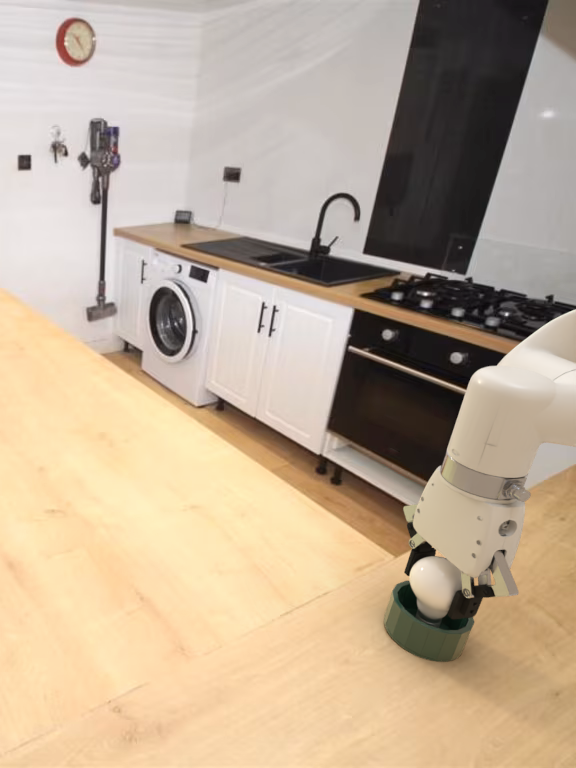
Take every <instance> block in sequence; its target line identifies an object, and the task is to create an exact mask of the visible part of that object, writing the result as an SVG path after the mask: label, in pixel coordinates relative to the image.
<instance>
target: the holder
mask: <svg viewBox="0 0 576 768" xmlns="http://www.w3.org/2000/svg"><path fill="white" fill-rule="evenodd" d="M417 610H418V606H417V597H416V596H415V594H414V592H413V590H412V588H411V585H410V581H409V580H404V581H401V582H398V583H396V585H394V587H393V589H392V592H391V594H390V596H389V599H388V603H387V606H386V609H385V612H384V617H383V625H384V628H385V630H386V632H387V634H388V635H389V636H390V638H391V639H392V640H393V641H394V642H395V643H396V644H397V645H398V646H400V647H401V648H402V649H404V650H405V651H406V652H408V653H410V654H411V655H414V656H415V657H418V658H421V659H423V660H427V661H431V662H439V663H446V662H452V661H455V660H457V659H458V658H460V657H461V656H462V654H463V651H464V649H465V646H466V644H467V641H468V639H469V637H470V634H471V633H472V630H473V627H474V625H475V619H474V617H471V618H460V619H451V618H450V617H449V616H448V613H447V615H446V616H445V617H443V618H442V620H441V624H440V627H439V628H436V627H433V626H430V625H428V624H426V623H424V622H422V621H420V620H418V619H416V618H415V617H416V614H417Z"/></svg>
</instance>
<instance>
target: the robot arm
mask: <svg viewBox="0 0 576 768" xmlns="http://www.w3.org/2000/svg"><path fill="white" fill-rule="evenodd" d="M469 379H470V380H469V381H468V384H467V387H466V389H465V393H464V396H463V400H462V401H461V404H460V408H459V411H458V415H457V416H456V417H457V418H456V420H455V424H454V426H453V430H452V432H451V435H450V438H449V441H448V445H447V448H446V450H445V453H444V457H443V460H442V463H441V465H439V466H437V467H436V469H435V470H434V472H433V473H432V475H431V476H430V478H429V479H428V481H427V483H426V485H425V487H424V489H423V491H422V493H421V496H420V498H419V500H418V502H417V503H414V504H408V505H404V506H403V508H402V509H403V510H402V511H403V514H404V517H405V520H406V522H407V523H406V528H407V531H408V534H409V537H410V538H409V540H408V545H409V547H410V548H411V550H410V553H409V556H408V559H407V563H406V565H405V568H404V571H403V572H404V574H405V575H406V576H407V577H409V575H410V571H411V568H412V567H413V565H414V564H415V563H416V562H417V561H419V560H420V559H422V558H425V557H429V556H436V554H437V552H438V553H439V554H441V555H442V557H444V558H446V559H448V560H449V561H450V562H451V563H452V564H454V565H455V566H456V567H457V568H458V569H460V570H461V582H462V590H458V591H456V592H455V595H454V598H453V600H452V603H451V605H450V608H449V611H448V616H449V617H450V618H451V619H460V618H471V617H473V618H474V617H475V616H476V615H477V613H478V611H479V609H480V606H481V604H482V602H483V599H490V598H507V597H514V596H518V595H519V594H520V592H519V589H518V586H517V583H516V582H515V579H514V577H513V574H512V571H511V570H510V569H511V568H512V566H513V563H514V561H515V558H516V554H517V553H518V548H519V545H520V542H521V537H522V534H523V528H524V522H525V514H526V502H527V501H528V500H529V499H531V495H532V493H531V492H530V491H528V490H526V487H524V486H525V484H526V481H527V480H528V479H527V478H528V476H529V474H530V471H531V468H532V466H533V463H534V461H535V459H536V456H537V454H538V451H539V450H540V447H541V445H542V444H547V443H548V444H555V445H561V446H567V447H574V448H576V309H573V310H571V311H568V312H565V313H563V314H561V315H559V316H558V317H556V318H553V319H552V320H550V321H549V322H547V323H545V324H544V325H543V326H541V327H540V328H538V329H537V330H535V331H534V332H533V333H532V334H530V335H529V336H528V337H526V338H525V339H523V340H522V341H521V342H520V343H518V344H517V345H515V347H513V348H512V349H511V350H510V351H508V353H507V354H505V355H504V356H503V358H502V359H501V360H500V361H499V362H498V363H497V365H489V366H488V365H487V366H484V367H481V368H479V369H477V370H476V371H475V372H474V373H473V374H472V375H471V377H470V378H469ZM491 576H492V577H493V581H494V584H492V577H491ZM475 579H477V585H475Z"/></svg>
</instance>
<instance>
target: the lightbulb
mask: <svg viewBox="0 0 576 768" xmlns="http://www.w3.org/2000/svg"><path fill="white" fill-rule="evenodd" d="M408 581H410V585H411V588H412V590H413V592H414V594H415V596H416V597H417V606H418V610H417V614H416V617H415V618H416V619H418V620H420V621H422V622H424V623H426V624H428V625H430V626H433V627H436V628H439V627H440V624H441V620H442V618H443V617H445V616H446V615H447V613H448V611H449V608H450V605H451V603H452V600H453V598H454V595H455V592H456V591H458V590H462V582H461V570H460V569H458V568H457V567H456V566H455V565H454V564H452V563H451V562H450V561H449V560H448V559H446V558H445V557H444V556H438V555H435V556H429V557H425V558H422V559H420V560H419V561H417V562H416V563H415V564H414V565H413V567H412V568H411V571H410V575H409V576H408Z"/></svg>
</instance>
